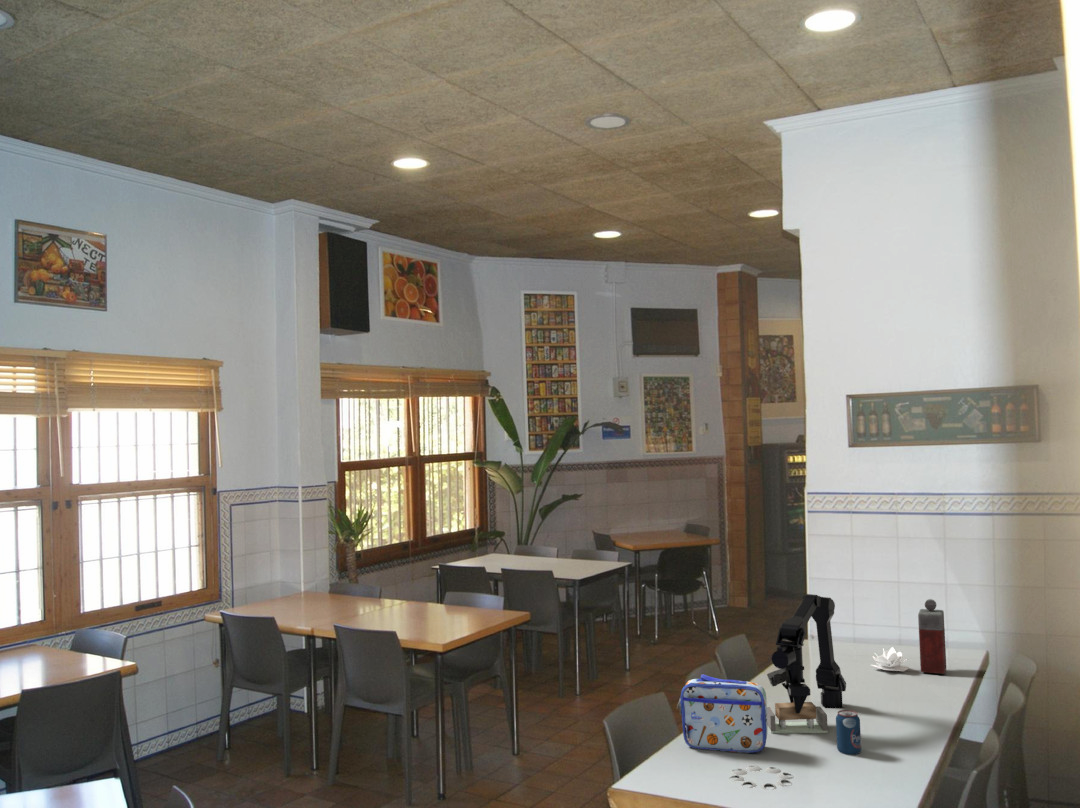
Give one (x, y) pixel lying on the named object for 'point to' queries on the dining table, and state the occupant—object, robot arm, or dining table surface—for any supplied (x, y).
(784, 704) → the shelf block
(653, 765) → the dining table surface
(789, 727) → the peg cradle
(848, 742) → the soda can
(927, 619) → the red decanter bottle
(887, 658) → the lotus flower
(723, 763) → the dining table surface
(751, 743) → the lunch box
